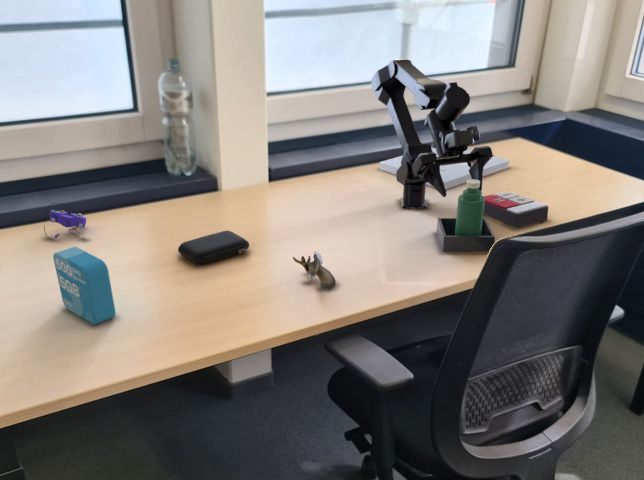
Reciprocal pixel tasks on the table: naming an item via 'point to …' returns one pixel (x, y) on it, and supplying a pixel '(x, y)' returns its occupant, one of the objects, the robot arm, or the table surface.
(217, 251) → the carrying case
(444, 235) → the tray
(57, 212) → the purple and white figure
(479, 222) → the bottle
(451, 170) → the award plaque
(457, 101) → the robot arm
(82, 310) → the data package
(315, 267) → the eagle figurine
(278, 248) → the table surface
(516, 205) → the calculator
